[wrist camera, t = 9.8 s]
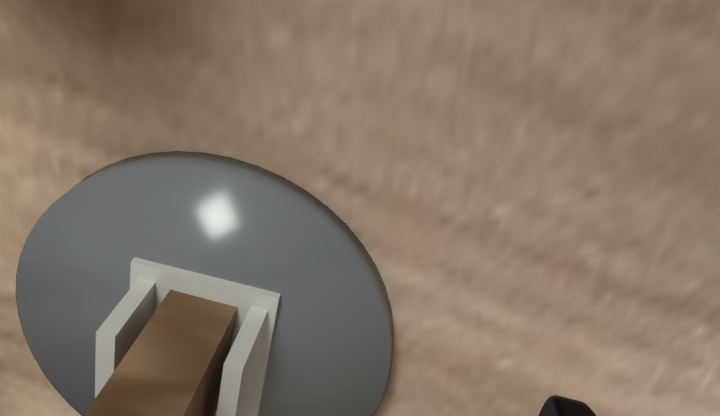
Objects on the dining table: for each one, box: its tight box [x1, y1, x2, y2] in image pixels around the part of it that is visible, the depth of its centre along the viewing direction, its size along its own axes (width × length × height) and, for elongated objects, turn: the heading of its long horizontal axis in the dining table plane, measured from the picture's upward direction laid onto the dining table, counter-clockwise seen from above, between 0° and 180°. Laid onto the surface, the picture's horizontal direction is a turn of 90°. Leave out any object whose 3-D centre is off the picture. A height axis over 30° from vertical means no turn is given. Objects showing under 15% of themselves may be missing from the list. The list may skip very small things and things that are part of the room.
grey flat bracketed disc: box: [16, 151, 393, 416], centre depth 22 cm, size 14×14×4 cm
